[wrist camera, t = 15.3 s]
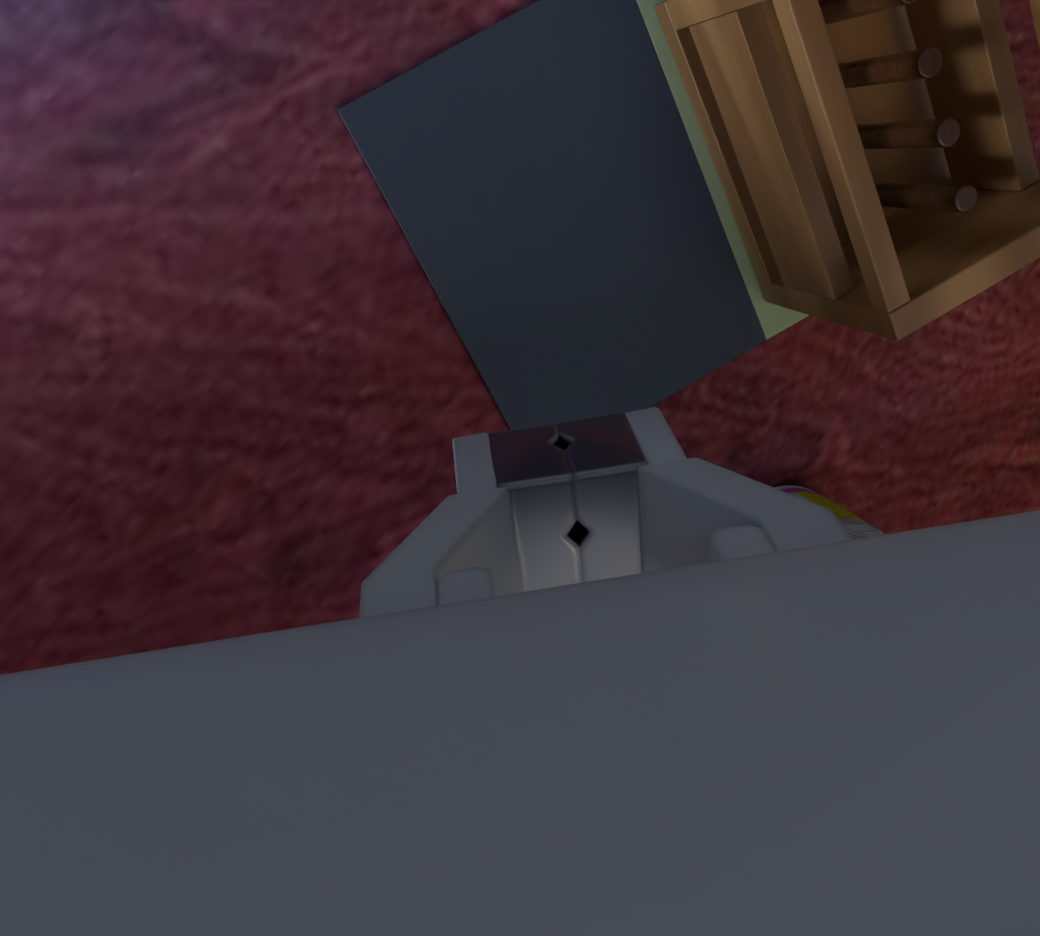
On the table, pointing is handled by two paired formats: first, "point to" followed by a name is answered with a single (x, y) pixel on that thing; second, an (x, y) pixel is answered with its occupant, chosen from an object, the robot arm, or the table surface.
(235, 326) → the table surface
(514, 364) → the runner mat
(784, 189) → the rack
